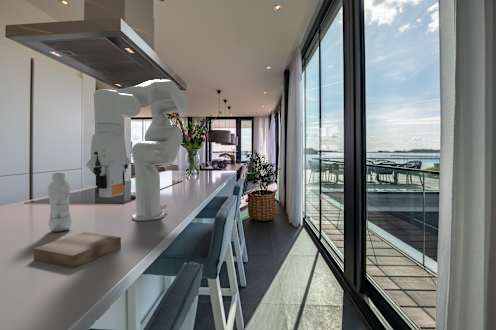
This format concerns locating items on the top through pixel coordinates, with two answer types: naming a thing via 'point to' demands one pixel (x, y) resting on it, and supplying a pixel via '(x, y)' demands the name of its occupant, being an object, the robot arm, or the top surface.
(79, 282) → the top surface
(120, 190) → the skincare box
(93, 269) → the top surface
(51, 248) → the walnut base
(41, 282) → the top surface
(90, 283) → the top surface
